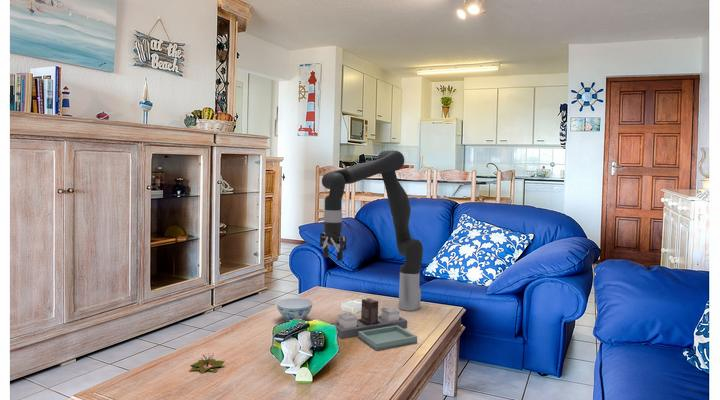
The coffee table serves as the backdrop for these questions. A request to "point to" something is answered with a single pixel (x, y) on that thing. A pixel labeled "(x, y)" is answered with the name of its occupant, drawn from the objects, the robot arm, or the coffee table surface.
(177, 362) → the coffee table surface
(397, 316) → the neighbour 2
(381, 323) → the slot holder
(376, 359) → the coffee table surface
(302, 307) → the chinaware
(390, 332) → the tray
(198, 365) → the lily flower
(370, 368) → the coffee table surface
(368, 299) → the box
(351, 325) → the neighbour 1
